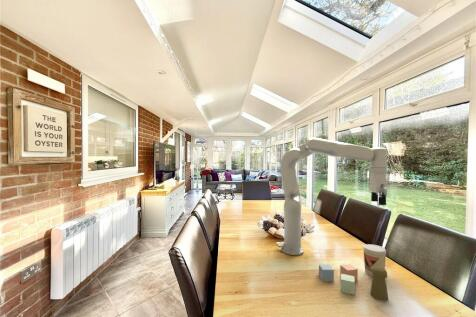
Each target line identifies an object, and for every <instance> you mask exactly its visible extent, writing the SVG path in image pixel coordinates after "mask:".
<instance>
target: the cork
mask: <svg viewBox="0 0 476 317" xmlns="http://www.w3.org/2000/svg"><path fill="white" fill-rule="evenodd" d="M372 274H373V276H372V280H371V288H370V293H369V295H370V296H371V297H372V298H373V299H375V300H377V301H381V302H382V301H383V302H385V301H386V302H387V301H389V293H388V287H387V280H386V278H387V277H388V272H387V269H386V268H385V269H384V268H382V267H377V266H376V267H373V268H372Z"/></svg>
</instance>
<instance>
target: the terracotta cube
mask: <svg viewBox="0 0 476 317" xmlns="http://www.w3.org/2000/svg"><path fill="white" fill-rule="evenodd" d="M339 270H340V271H339V272H340V274H339V275H340V276H339V277H341V274H345V275H350V276H354V281H355V282H356V281H358V280H359V278H358V275H359V274H358V270H359V269H358V268H357V267H355V266H354V265H352V264H350V263H347V264H340V266H339Z"/></svg>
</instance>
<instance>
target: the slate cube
mask: <svg viewBox="0 0 476 317" xmlns="http://www.w3.org/2000/svg"><path fill="white" fill-rule="evenodd" d="M318 276H319V278H320V279H321V280H322V282H323V281H324V282H326V281H327V282H333V281H335V269H334V268H333V267H332V265H331V264H329V263H327V264H326V263H325V264H324V263H320V264H318Z"/></svg>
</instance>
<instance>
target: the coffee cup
mask: <svg viewBox="0 0 476 317" xmlns="http://www.w3.org/2000/svg"><path fill="white" fill-rule="evenodd" d="M362 249H363V261H364V262H363V263H364V271H365V273H366V274H367V275H369V276H371V277H373V274H372V268H373V267H376V266H377V267H382V268H384V269H385V270H386V268H385V267H386V258H387V250H386V248H384V247H383V246H380V245H377V244H369V243H367V244H364V245H363V247H362Z"/></svg>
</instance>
